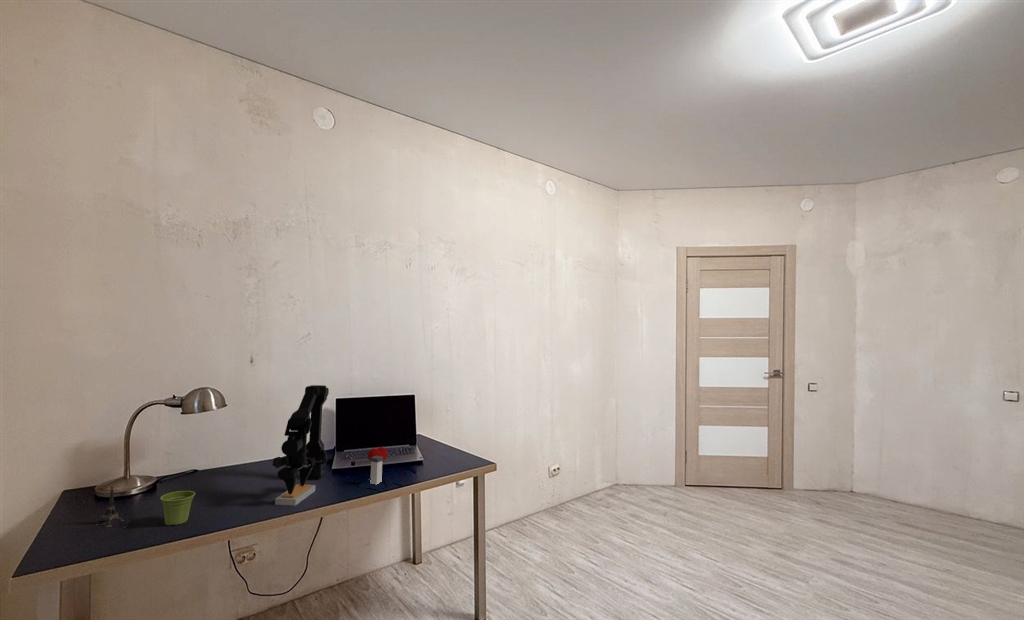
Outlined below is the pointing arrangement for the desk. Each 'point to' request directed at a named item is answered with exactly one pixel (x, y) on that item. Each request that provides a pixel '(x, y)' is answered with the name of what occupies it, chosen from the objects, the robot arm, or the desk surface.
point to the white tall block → (376, 470)
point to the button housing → (297, 499)
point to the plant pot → (177, 506)
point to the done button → (296, 491)
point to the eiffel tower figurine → (110, 512)
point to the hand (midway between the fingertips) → (296, 489)
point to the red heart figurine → (378, 453)
